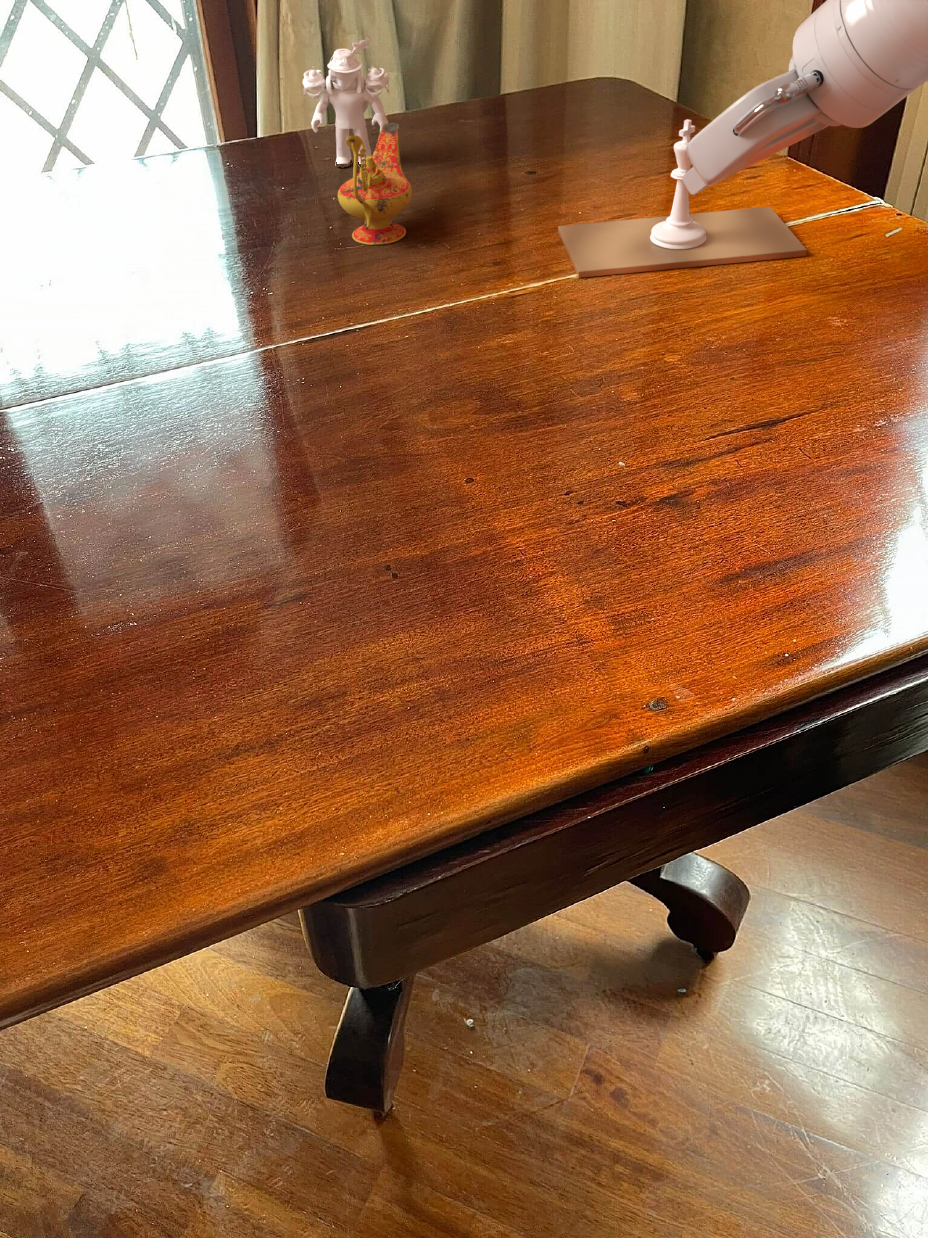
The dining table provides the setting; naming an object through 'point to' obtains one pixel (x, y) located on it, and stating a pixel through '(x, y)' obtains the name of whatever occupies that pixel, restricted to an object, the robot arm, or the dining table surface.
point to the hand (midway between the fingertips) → (725, 167)
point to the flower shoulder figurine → (348, 98)
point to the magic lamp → (377, 189)
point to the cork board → (633, 251)
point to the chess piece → (680, 205)
